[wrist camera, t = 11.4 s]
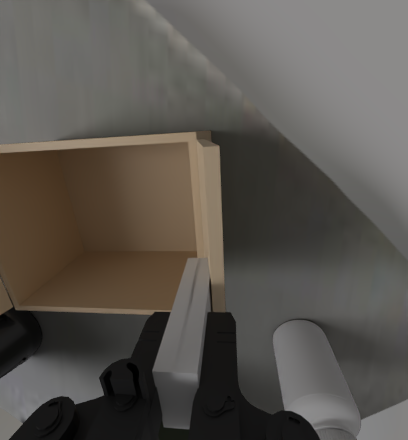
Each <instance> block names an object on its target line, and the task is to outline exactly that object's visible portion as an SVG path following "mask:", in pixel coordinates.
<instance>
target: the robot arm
mask: <svg viewBox="0 0 408 440" xmlns="http://www.w3.org/2000/svg"><path fill="white" fill-rule="evenodd" d="M10 301H11V303H12V300H11V298H10ZM12 305H13V303H12ZM41 339H42V335H41V330H40V327H39V325H38V323H37V321H36V320H35V318H34V317H33V316H32V315H31V313H30V312H29V311H27V310H16V309H15V307H14V305H13V307H12V308H11V309H9V310H7V311H6V312H4V313H3V314H1V315H0V378H2V377H3V376H5V375H6V374H7V373H9V372H10V371H12V370H13V369H15V368H16V367H17V366H18V365H20V364H22V363H24V362H25V361H26V360H28V359H29V358H30V357H31V355H32V354H33V353H34V352H35V351H36V350H37V349H38V347H39V346H40V344H41ZM99 379H100V382H101V385H102V388H103V391H104V396H101V397H99V398H96V399H93V400H90V401H86V402H83V403H79V404H76V405H75V404H74V402H73V401H72V400H71V399H70V398H69V397H63V396H60V397H57V398H53V399H51V400H49V401H47V402H46V403H44V404H42V405H41V406H40V407H39V408H38V409H37V410H36V411H35V412H33V413H32V415H31V416H30V417H29V418H28V419H27V420H26V421H25V422H24V423H23V425H22V426H21V427H20V428H19V429H18V430H17V431H16V432H15V433H14V434H13V436H12V437H11V438H10V439H9V440H159V437H158V433H159V429H160V425H161V420H162V421H163V426H164V427H166V428H178V429H189V436H188V440H320V438H319V436H318V434H317V433H316V431H315V430H314V428H313V427H312V425H311V424H310V423H309V422H308V421H307V420H306V419H305V418H304V417H302V416H301V415H299V414H297V413H295V412H292V411H279V412H277V413H275V414H273V415H271V414H269V413H266V412H264V411H262V410H260V409H258V408H256V407H254V406H252V405H251V404H250V403H249V402H248V401H247V400H246V399H245V398H244V396H243V395H242V394H241V391H240V389H239V386H238V376H237V348H236V322H235V320H234V318H233V316H232V314H231V313H230V312H212V299H211V283H210V272H209V265H208V258H188V259H187V263H186V266H185V269H184V272H183V275H182V278H181V282H180V285H179V288H178V291H177V294H176V297H175V301H174V304H173V307H172V310H171V312H154V313H153V314H152V315H151V316H150V317H149V318H148V319H147V321H146V323H145V326H144V328H143V330H142V333H141V335H140V337H139V341H138V342H137V344H136V347H135V349H134V351H133V354H132V356H131V358H128V359H121V360H119V361H117V362H114V363H112V364H111V365H110V366H109V367H108V368H106V369H105V370H104V372H103V373H102V374H101V376H100V377H99Z"/></svg>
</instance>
